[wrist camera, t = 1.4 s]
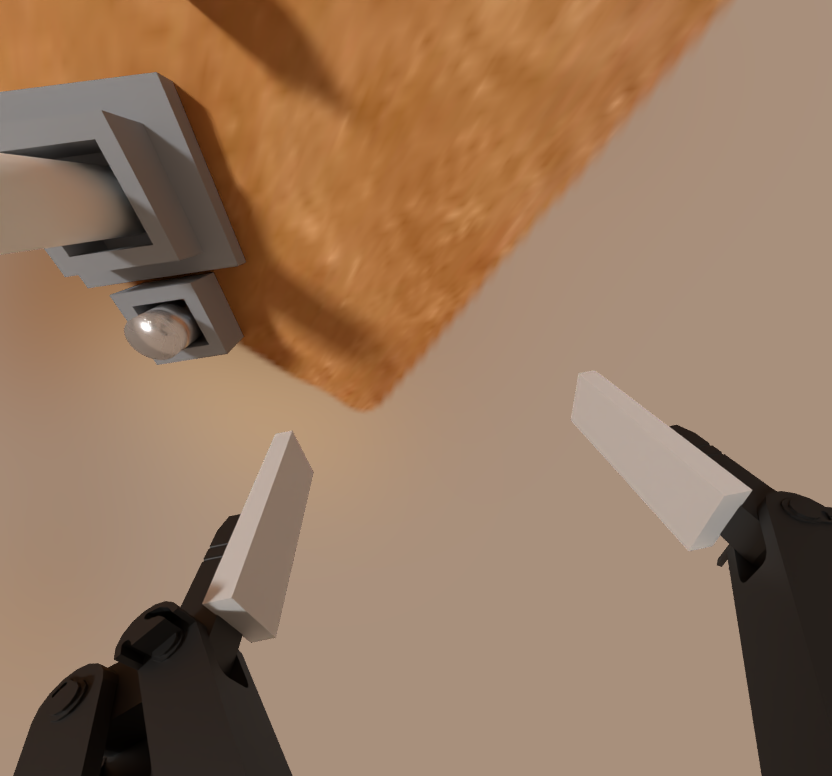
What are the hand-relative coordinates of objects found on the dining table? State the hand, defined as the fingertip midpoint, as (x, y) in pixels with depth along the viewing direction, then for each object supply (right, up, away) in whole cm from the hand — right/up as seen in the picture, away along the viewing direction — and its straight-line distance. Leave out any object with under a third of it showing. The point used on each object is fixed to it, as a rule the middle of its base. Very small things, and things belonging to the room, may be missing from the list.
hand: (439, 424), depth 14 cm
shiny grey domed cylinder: (-24, +9, +16) cm, 30 cm away
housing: (-25, +15, +15) cm, 33 cm away
